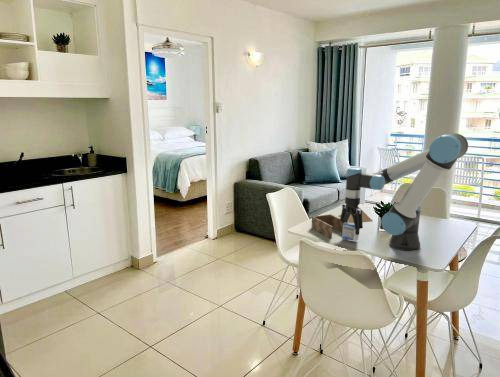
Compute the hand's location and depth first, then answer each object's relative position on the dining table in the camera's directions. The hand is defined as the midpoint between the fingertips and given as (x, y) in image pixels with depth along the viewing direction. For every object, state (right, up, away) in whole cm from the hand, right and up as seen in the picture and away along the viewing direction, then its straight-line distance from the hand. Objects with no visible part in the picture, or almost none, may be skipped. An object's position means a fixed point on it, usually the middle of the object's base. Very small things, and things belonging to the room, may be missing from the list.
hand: (350, 237), depth 207 cm
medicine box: (0, -1, 0) cm, 1 cm away
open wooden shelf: (-8, +1, +15) cm, 17 cm away
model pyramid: (+13, +6, +40) cm, 43 cm away
